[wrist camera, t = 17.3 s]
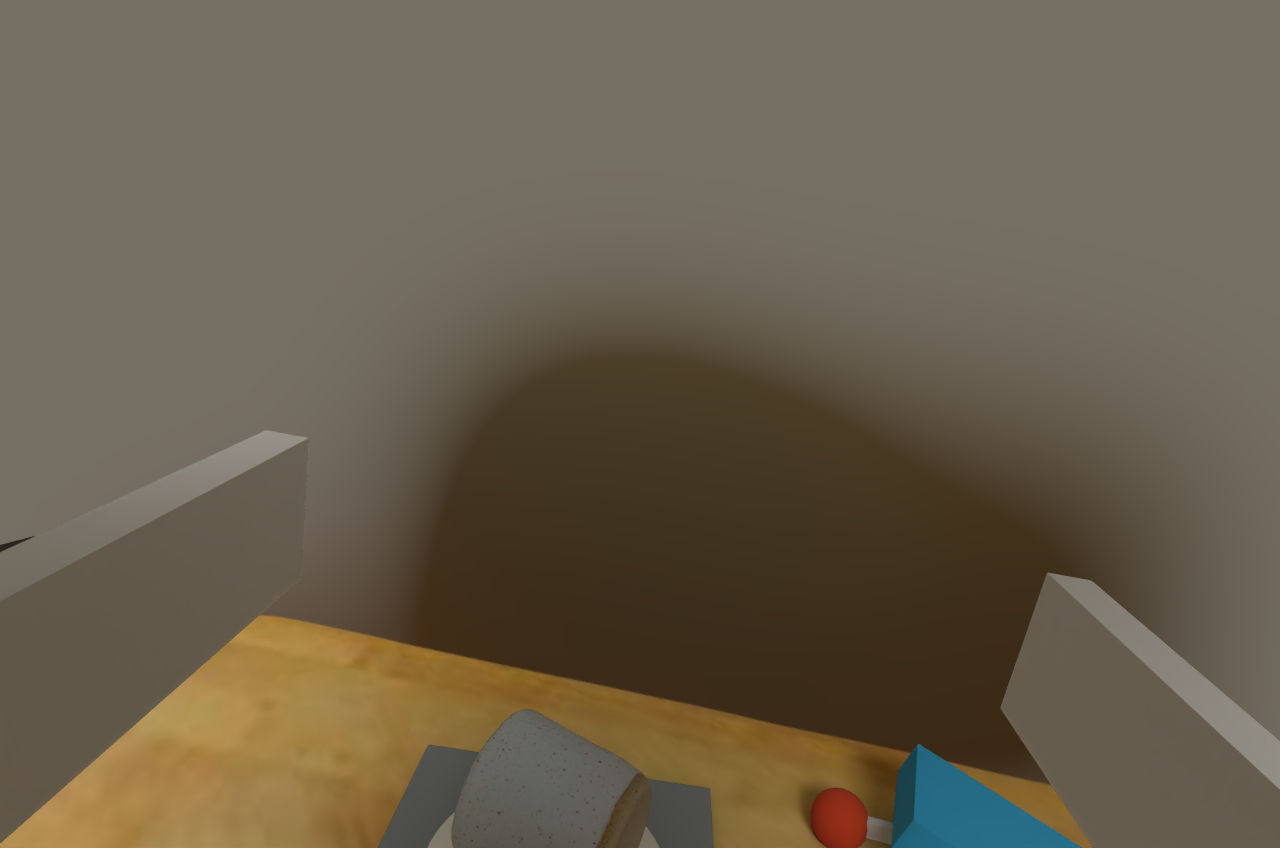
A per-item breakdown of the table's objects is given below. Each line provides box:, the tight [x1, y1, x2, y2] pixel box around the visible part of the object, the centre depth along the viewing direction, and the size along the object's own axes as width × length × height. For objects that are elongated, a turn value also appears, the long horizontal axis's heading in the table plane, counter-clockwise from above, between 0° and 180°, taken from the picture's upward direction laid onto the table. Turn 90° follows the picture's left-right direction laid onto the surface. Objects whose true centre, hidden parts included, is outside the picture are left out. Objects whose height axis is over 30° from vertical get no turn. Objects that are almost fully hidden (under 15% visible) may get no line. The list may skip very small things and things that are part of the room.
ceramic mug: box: [451, 709, 652, 848], centre depth 38 cm, size 11×8×8 cm
